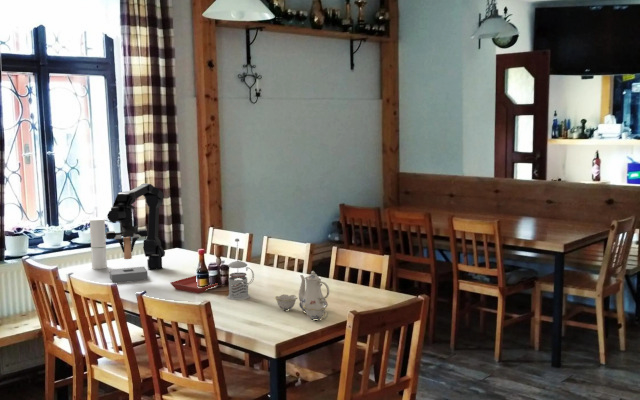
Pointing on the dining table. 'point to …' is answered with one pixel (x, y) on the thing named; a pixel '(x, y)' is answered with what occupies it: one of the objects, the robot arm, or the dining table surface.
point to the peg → (127, 247)
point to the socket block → (128, 274)
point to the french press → (238, 281)
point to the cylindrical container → (98, 243)
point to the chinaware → (307, 297)
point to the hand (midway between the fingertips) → (127, 252)
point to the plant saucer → (190, 285)
